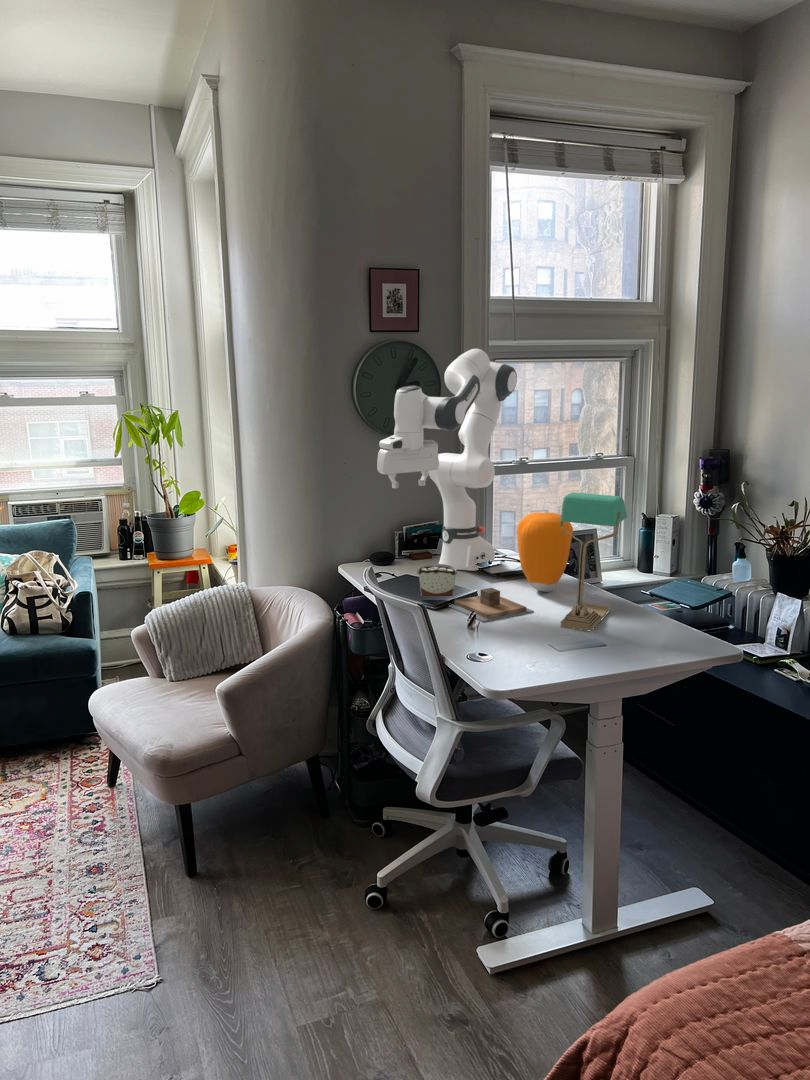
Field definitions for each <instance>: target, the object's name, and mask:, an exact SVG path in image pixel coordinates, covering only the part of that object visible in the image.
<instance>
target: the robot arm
mask: <svg viewBox="0 0 810 1080" xmlns="http://www.w3.org/2000/svg"><path fill="white" fill-rule="evenodd" d="M517 383H518V374H517V371H516V369H515V368H514V367H513V366H512V365H508V364H506V363H504V364H502V363H498V362H494V361H491V360H490V357H489V355H488V353H486V351H484V350H482V349H480V348H472V349H468V350H467V351H465V352H463V353H461V354H460V355H458V356H457V358H455V359H454V360H453V361H452V362H451V363H450V364H449V365H448V366H447V368H446V370H445V372H444V384H445V386H446V388H447V389H448V390H449V392H451V393H452V394H453V396H444V397H443V396H428V395H427V394H425V393H424V392H423V390H422V387H420V386H418V385H407V386H402V387H400V388H398V389H396V393H395V396H394V405H393V406H394V407H393V409H394V410H393V417H394V421H395V422H394V423H395V424H394V430H393V435H390V436H388V437H386V438H383V439H381V440H380V441H379V444H378V446H379V448H380V449H379V451H378V453H377V461H376V462H377V463H376V465H377V466H376V470H377V472H378V473H379V474H381V475H387V476H388V478H389V481H390V482H391V487H392V489H399V487H400V483H399V482H398V481H397V480H396V478H397V474H405V473H406V474H407V473H417V472H418V473H419V472H420V474H421V477H420V478H419V479H417V481H418V486H420V487H423V486H426V481H427V479H428V477H429V478H430V479H431V480H432V481H433V482H434V484H435V485H436V487H437V489H438V491H439V494H440V496H441V499H442V504H443V525H442V529H441V531H442V532H441V535H442V548H441V555H440V557H439V562H438V564H445V565H450V566H453V567H455V568H456V570H457V571H470V572H471V571H472V572H473V571H474V572H476V571H480V570H479V569H478V567H476V566H475V564H477V563H482V562H486V561H489V560H494V559H495V557H496V553H495V549H494V546H493V545H492V544H491V543H490V542H488V541H487V540H486V539H485V538H483V537H482V536H481V535H480V533H482V534H483V533H485V532H486V527H485V526H481V525H480V526H478V525H476V523H477V521H476V520H477V519H476V517H477V510H476V509H477V505H476V503H475V501H474V499H473V498H471V497H470V496H469V495H468V493H467V491H466V489H465V488H470V489H480V488H481V489H482V488H486V487H488V486H490V485H491V484H492V483H493V481H494V479H495V475H496V474H495V473H496V470H495V469H496V468H495V466H494V464H493V461H492V460H491V459H490V456H489V445H490V442H491V439H492V436H493V433H494V430H495V427H496V426H497V423H498V420H499V416H500V411H501V406H502V402H503V401H505V400H506V399H507V398H508V397H509V396H511V395H512V393H513V392H514V390H515V388H516V386H517ZM459 428H460V429H459ZM424 429H430V430H442V431H448V432H455V431H457V430H458V429H459V431H458V438H459V441H460V443H461V444H462V445H463V446H464V448H463V449H464V450H463V452H462V453H453V452H452V453H450V452H443V453H439V451H438V450H439V445H438V442H437V441H435V440H434V439H429V440H428V439H424Z"/></svg>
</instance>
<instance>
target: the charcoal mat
mask: <svg viewBox="0 0 810 1080" xmlns="http://www.w3.org/2000/svg"><path fill="white" fill-rule="evenodd" d="M453 603H454V604H451V603H450V604H451V605H449V606H448V607H449V608H451V609H453V610H456V611H458V612H460V613H462V614H464V615H466V616H468V617H470V616H469V615H470V613H471V611H469V610H466V609H464V608H462V607H460V606H458V605H455V602H453ZM534 612H535V611H534V610H532V609H530V608H528V607H526V611H524V612H519V613H514V614H509V615H504V616H499V617H494V618H489V619H486V618H484V617H482V616H480V615H477V614H476V619H475V620H478V621H479V622H481V623H488V622H491V621H492V622H493V621H497V620H503V619H507V618H512V617H517V616H522V615H527V614H532V613H534Z"/></svg>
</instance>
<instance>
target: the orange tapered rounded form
mask: <svg viewBox="0 0 810 1080" xmlns="http://www.w3.org/2000/svg"><path fill="white" fill-rule="evenodd" d="M560 521H561V514H559V513H556V512H532V513H528V514H527V515H525V516H524V517H523V518H522V519H521V520H520V521H519V522H518V524H517V528H516V537H517V549H518V557H519V562H520V563H519V564H520V567H521V570H522V572H523V574H524V576H525V577H526V580H527V581H528V583H529V584H530V586H531V587H532V588H533V589H534V590H536V591H538V592H544V593H548V592H551V591H552V590H553V589H554V588H555V586H556V584H557V583H558V582H559V581H560V579H561V578H562V576H563V574H564V572H565V571H566V567H567V565H568V561H569V555H570V549H571V543H572V540H573V539H572V538H573V537H572V536H570V535H569V534H567V533H565V532H564V531H563V530H562V529H561V527H560ZM562 528H563V529H564V530H566V531H567V532H568V533H570V534H571V535H573V534H574V533H573V532H574V526H572V522H563V525H562Z"/></svg>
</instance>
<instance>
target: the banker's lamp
mask: <svg viewBox="0 0 810 1080" xmlns="http://www.w3.org/2000/svg"><path fill="white" fill-rule="evenodd" d="M561 505H562V506H561V514H560V515H561V521H560V527H561V529H562V530H563V531H564V532H565V533H567V534H569V535H570V536H572V538H573V539H575V540H577V541H578V542H579V543H580V550H579V563H578V583H577V597H576V599H577V601H576V605H575V604H574V605H572V608H571V610H570V611H569V612H567V614H566V615H565V616H564V617H563V619H562V620H561V621H560V627H561V628H564V627H568V628H567V629H570V628H575V629H574V630H577V629H582V630H581V631H583V630H590V631H592V630H594V629H595V628H596V627H597V626H598V625H599V624H600V623H601V622H602V621H601V619H602V618H603V617H604V616H605V615H606V613H607V612H608V611H609V612H610V609H611V608H610V605H603V604H597V603H589V602H584V589H585V571H586V570H585V569H586V567H585V566H586V554H587V546H588V545H589V544H590V543H594V542H598V541H602V540H605V539H608V538H609V539H610V538H613V537H615V536H617V535H618V533H619V528H620V523H621V522H623V521H624V520H625V519H626V518H628V514H627V509H626V505H625V500H624V498H623V497H622V496H619V495H609V494H607V495H606V494H597V493H585V492H583V493H582V492H570V493H568V494H567V495H564V497H563V500H562V504H561ZM563 522H570V523H574V524H575V523H576V524H584V525H585V524H586V525H593V526H594V525H595V526H604V527H606V526H607V527H615V531H613V532H612V533H610V534H607V535H604V536H600V537H597V538H595V539H592V540H589V541H586V543H584V542H583V540H581V539H579V538H578V537H576V536H574V535H573V534H572V535H571V534H570V533H568V532H567V531H566V530H564V529H563V528H562V525H563ZM606 616H607V615H606ZM606 616H605V617H606ZM605 617H604V618H605ZM600 621H601V622H600ZM599 622H600V623H599ZM598 623H599V624H598ZM597 624H598V625H597ZM596 625H597V626H596ZM595 626H596V627H595ZM594 627H595V628H594ZM593 628H594V629H593ZM592 632H593V631H592Z"/></svg>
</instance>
